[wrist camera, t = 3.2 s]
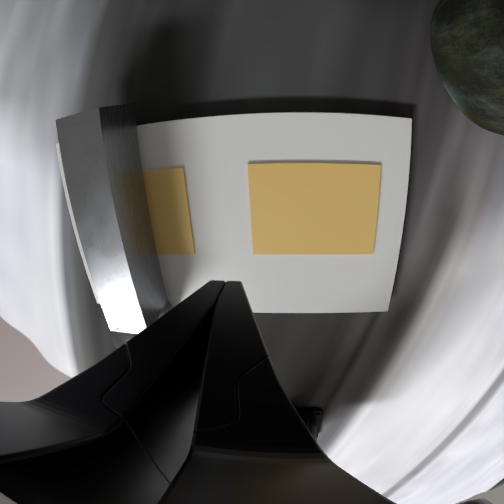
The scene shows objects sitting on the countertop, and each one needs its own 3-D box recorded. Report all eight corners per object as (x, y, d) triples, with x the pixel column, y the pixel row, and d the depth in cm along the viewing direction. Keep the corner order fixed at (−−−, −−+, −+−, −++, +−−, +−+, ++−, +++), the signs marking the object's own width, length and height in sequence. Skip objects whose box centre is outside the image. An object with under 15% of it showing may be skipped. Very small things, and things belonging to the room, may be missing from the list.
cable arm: (178, 328, 24) (162, 364, 21) (138, 325, 25) (119, 358, 21) (138, 102, 16) (103, 106, 13) (90, 113, 17) (52, 121, 13)
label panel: (383, 310, 23) (387, 322, 22) (104, 303, 26) (97, 313, 25) (406, 117, 17) (414, 119, 15) (63, 140, 20) (51, 144, 18)
